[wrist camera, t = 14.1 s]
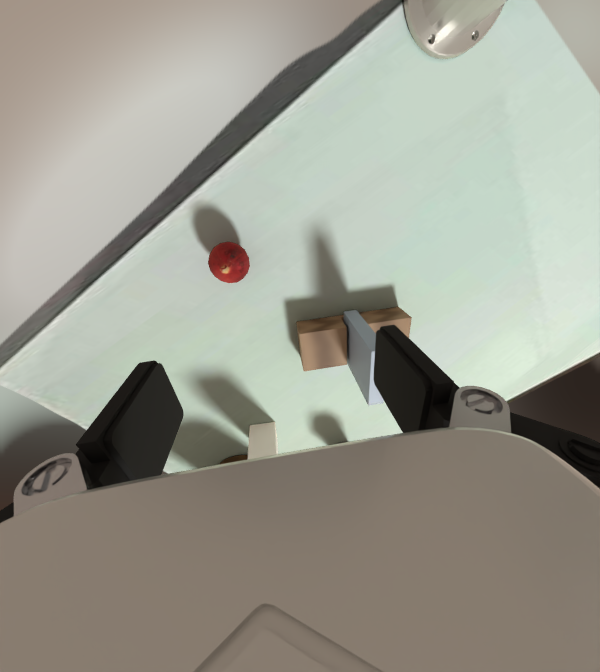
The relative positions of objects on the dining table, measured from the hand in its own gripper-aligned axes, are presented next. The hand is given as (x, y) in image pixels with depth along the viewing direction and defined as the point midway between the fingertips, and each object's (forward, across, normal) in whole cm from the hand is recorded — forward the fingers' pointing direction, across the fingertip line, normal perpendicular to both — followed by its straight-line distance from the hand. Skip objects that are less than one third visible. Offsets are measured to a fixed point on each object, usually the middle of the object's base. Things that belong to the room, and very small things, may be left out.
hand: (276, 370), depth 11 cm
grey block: (+32, -13, +18) cm, 39 cm away
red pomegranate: (+34, +6, +1) cm, 34 cm away
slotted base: (+33, -13, +18) cm, 40 cm away
